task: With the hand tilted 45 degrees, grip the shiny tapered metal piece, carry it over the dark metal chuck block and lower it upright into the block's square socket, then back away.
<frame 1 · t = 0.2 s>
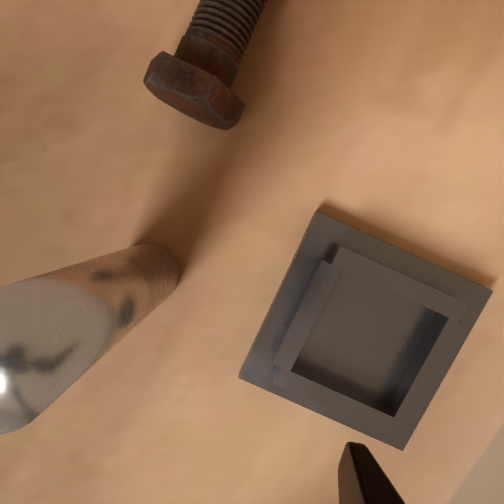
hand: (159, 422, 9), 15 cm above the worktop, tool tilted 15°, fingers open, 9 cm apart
shiny tapered metal piece: (149, 272, 24), on the worktop
chuck block: (358, 331, 24), on the worktop
bolt: (248, 4, 22), on the worktop
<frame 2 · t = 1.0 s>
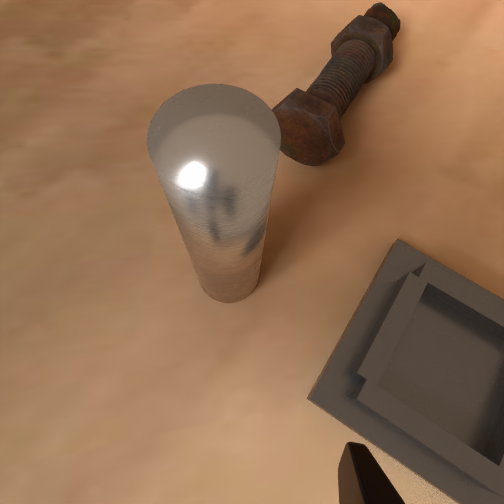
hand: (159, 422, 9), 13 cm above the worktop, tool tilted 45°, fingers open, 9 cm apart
shiny tapered metal piece: (229, 273, 24), on the worktop
chuck block: (439, 368, 22), on the worktop
bolt: (338, 99, 30), on the worktop
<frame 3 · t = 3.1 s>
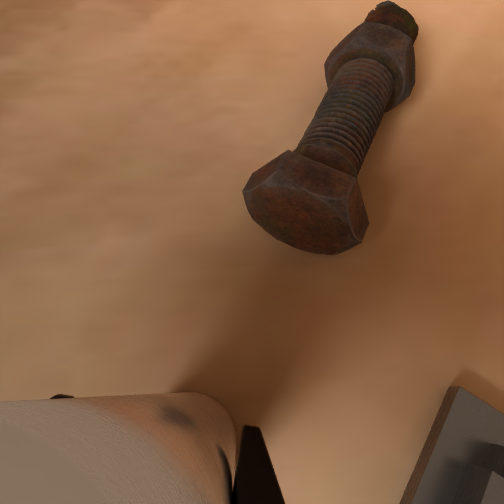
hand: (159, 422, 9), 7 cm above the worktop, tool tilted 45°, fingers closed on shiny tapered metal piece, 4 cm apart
shiny tapered metal piece: (187, 444, 15), on the worktop, touching gripper
bolt: (341, 142, 21), on the worktop
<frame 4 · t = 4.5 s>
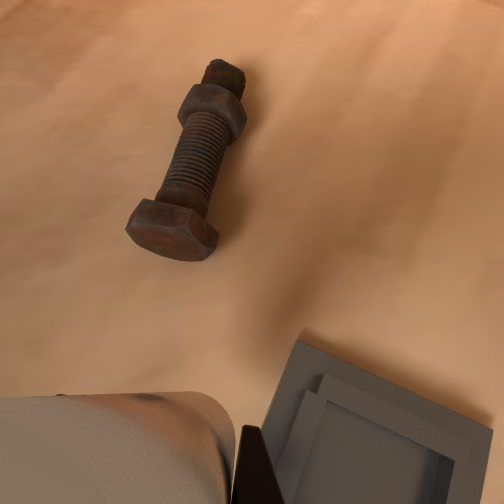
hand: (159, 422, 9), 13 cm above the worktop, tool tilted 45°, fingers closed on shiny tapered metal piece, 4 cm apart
shiny tapered metal piece: (186, 443, 15), point 6 cm above the worktop, touching gripper
chuck block: (355, 488, 20), on the worktop
bolt: (205, 170, 27), on the worktop
when the fingers open (9 cm above the worktop, at t = 6.3 s): shiny tapered metal piece stays where it is, resting on chuck block.
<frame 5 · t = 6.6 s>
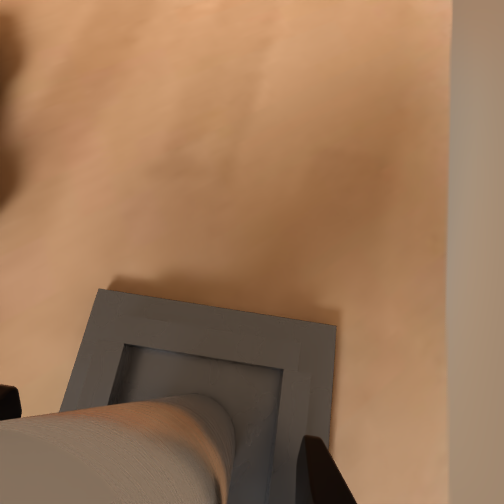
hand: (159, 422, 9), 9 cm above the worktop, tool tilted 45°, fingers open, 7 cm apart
shiny tapered metal piece: (189, 443, 15), point 1 cm above the worktop, touching chuck block
chuck block: (193, 438, 16), on the worktop
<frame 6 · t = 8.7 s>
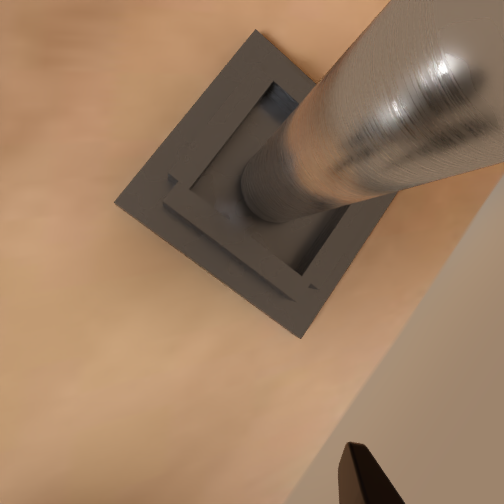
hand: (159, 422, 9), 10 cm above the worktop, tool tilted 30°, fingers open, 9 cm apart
shiny tapered metal piece: (277, 185, 19), point 1 cm above the worktop, touching chuck block
chuck block: (274, 187, 20), on the worktop
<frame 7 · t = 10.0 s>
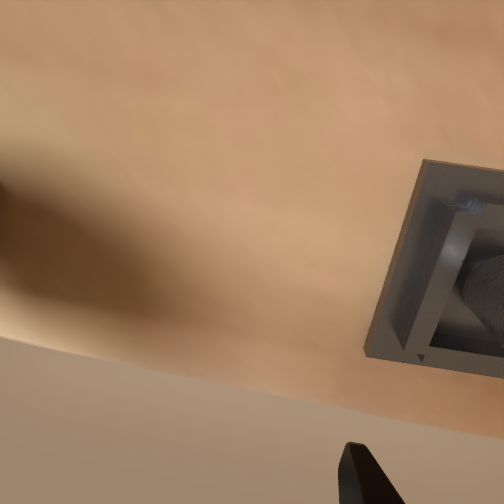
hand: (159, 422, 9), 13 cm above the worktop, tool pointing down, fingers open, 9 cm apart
shiny tapered metal piece: (502, 287, 19), point 1 cm above the worktop, touching chuck block
chuck block: (495, 280, 20), on the worktop
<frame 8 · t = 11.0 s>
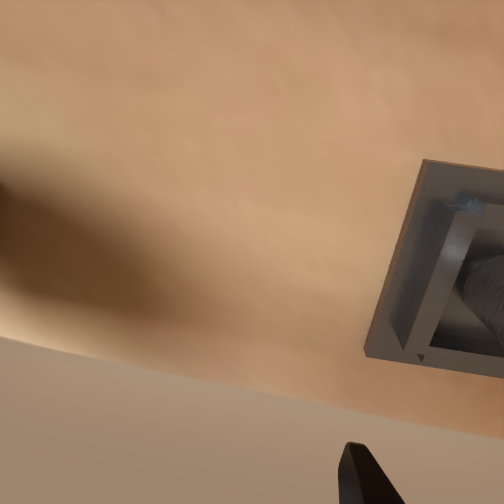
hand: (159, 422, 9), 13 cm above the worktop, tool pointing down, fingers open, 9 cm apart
shiny tapered metal piece: (502, 287, 19), point 1 cm above the worktop, touching chuck block
chuck block: (495, 280, 20), on the worktop
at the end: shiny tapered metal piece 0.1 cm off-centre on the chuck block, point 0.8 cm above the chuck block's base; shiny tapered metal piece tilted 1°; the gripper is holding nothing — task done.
